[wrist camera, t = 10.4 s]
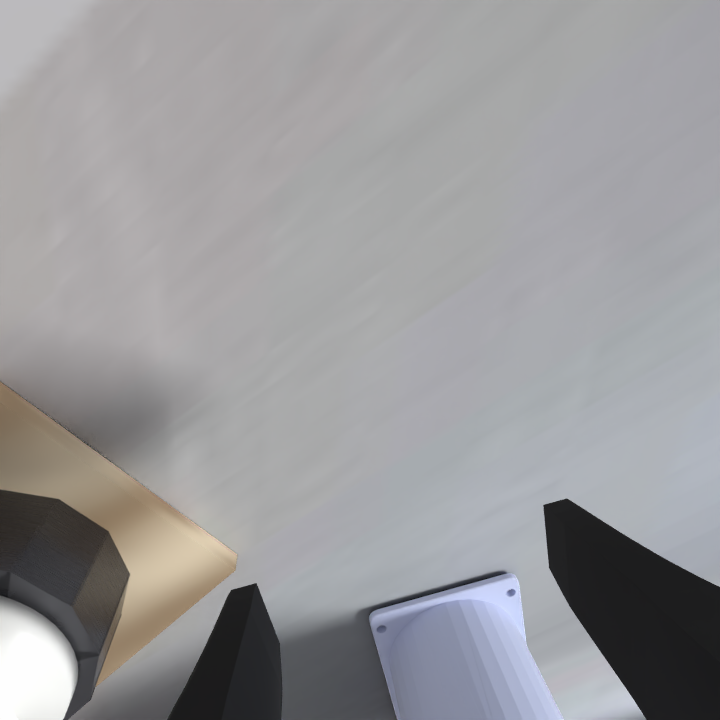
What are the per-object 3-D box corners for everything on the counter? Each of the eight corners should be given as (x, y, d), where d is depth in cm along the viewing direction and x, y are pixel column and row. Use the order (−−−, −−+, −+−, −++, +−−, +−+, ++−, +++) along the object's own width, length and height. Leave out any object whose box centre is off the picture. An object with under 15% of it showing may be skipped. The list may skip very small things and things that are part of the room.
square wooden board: (237, 554, 24) (235, 570, 23) (55, 707, 26) (46, 728, 25) (-13, 372, 19) (-28, 382, 19) (-214, 574, 21) (-236, 592, 20)
